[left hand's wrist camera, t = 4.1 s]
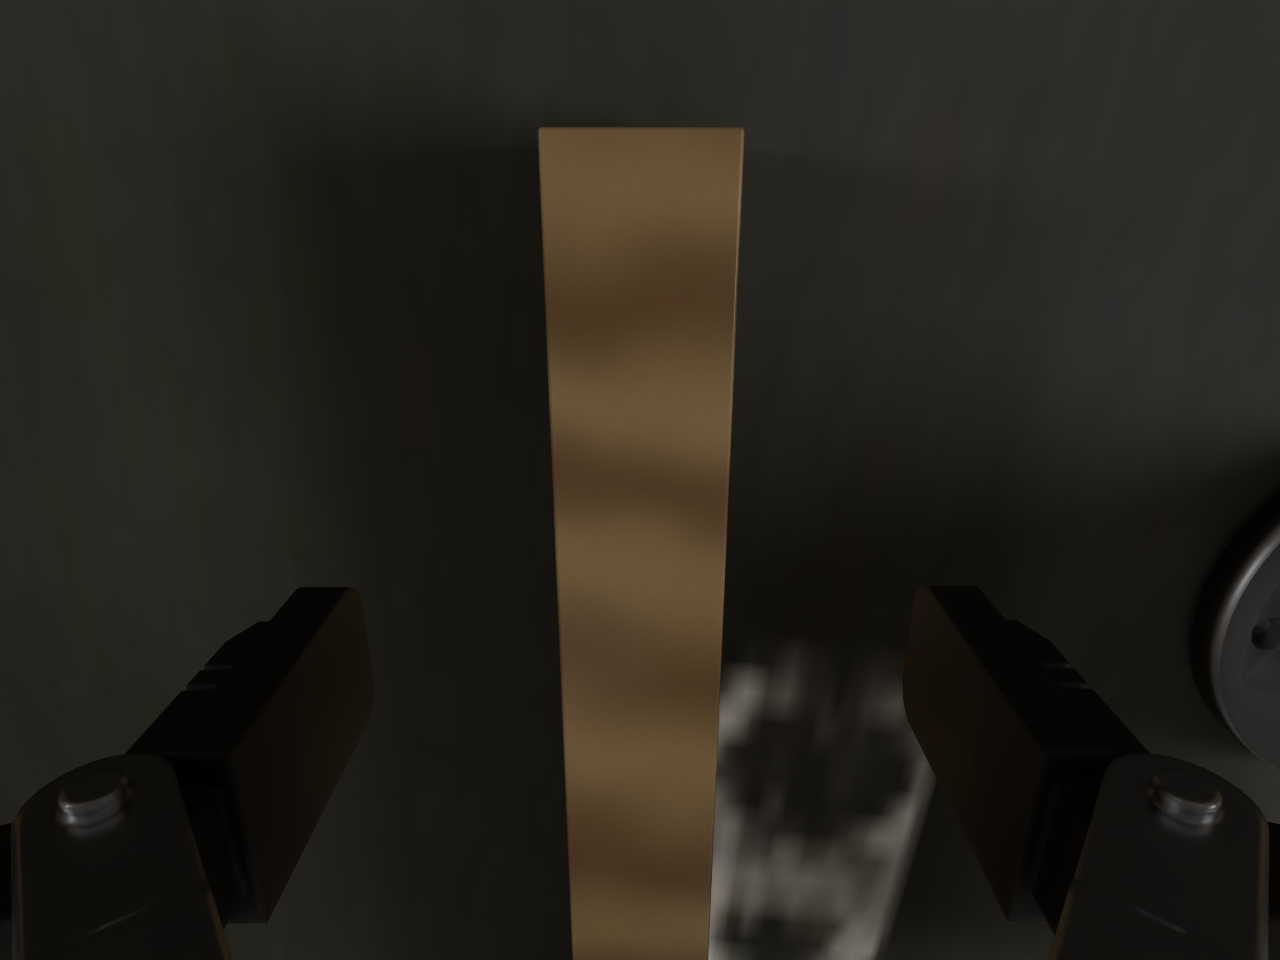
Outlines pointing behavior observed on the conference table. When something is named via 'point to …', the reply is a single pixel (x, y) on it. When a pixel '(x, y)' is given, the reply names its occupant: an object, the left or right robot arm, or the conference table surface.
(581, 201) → the post
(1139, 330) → the conference table surface
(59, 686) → the conference table surface
